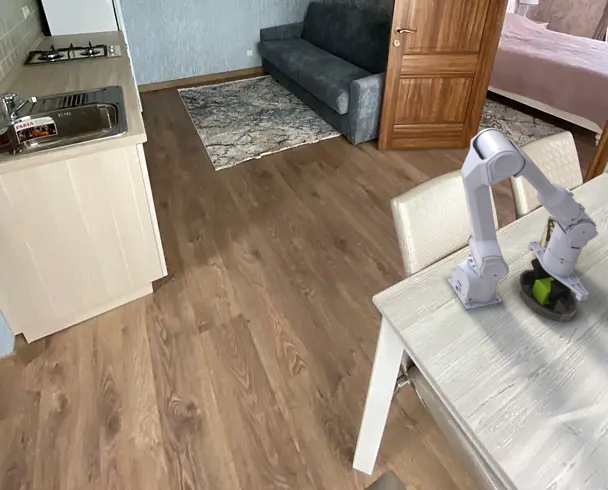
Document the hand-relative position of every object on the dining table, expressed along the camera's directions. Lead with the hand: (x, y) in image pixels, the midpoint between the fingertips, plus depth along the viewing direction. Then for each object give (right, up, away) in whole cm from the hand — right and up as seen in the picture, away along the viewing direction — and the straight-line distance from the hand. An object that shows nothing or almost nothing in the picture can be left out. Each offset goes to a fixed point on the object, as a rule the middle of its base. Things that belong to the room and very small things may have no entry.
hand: (546, 293), depth 84 cm
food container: (+9, +2, +11) cm, 14 cm away
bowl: (0, -2, +1) cm, 2 cm away
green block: (0, -1, +1) cm, 2 cm away
